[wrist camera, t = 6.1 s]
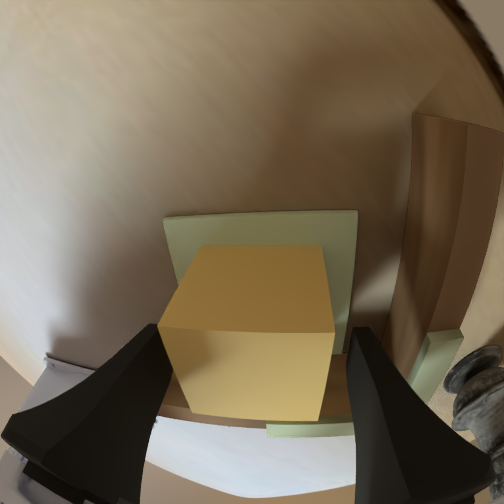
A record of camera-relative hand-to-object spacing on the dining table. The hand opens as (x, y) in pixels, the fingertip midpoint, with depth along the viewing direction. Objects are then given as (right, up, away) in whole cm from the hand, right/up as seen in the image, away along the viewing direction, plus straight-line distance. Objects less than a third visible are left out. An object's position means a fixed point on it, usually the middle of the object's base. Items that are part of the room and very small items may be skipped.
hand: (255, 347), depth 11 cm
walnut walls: (+1, +3, +2) cm, 4 cm away
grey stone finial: (+16, -5, +5) cm, 17 cm away
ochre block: (0, +2, +3) cm, 3 cm away
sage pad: (0, +2, +3) cm, 3 cm away
